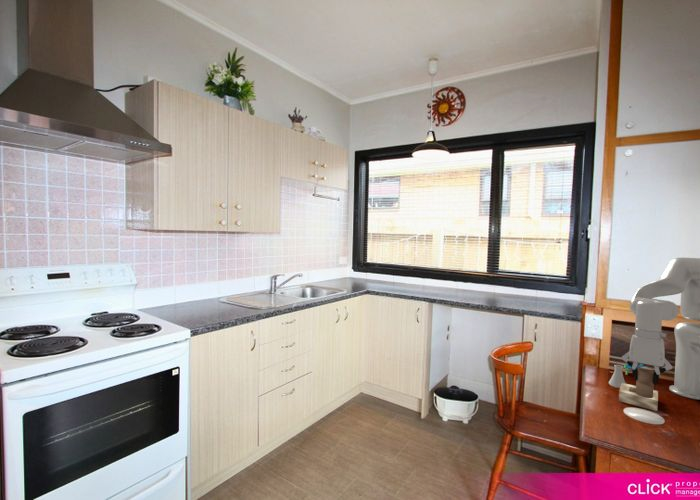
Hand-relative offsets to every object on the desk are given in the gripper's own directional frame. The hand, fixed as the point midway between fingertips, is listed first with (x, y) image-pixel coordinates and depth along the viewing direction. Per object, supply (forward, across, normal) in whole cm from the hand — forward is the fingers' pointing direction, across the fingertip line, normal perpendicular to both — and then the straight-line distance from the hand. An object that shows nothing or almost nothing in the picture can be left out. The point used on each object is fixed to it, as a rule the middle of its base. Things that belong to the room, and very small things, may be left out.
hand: (645, 381), depth 132 cm
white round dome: (+14, 0, 0) cm, 14 cm away
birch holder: (+14, +2, -15) cm, 21 cm away
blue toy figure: (+14, +4, -52) cm, 54 cm away
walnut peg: (+5, 0, 0) cm, 5 cm away
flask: (+15, +10, -29) cm, 34 cm away
